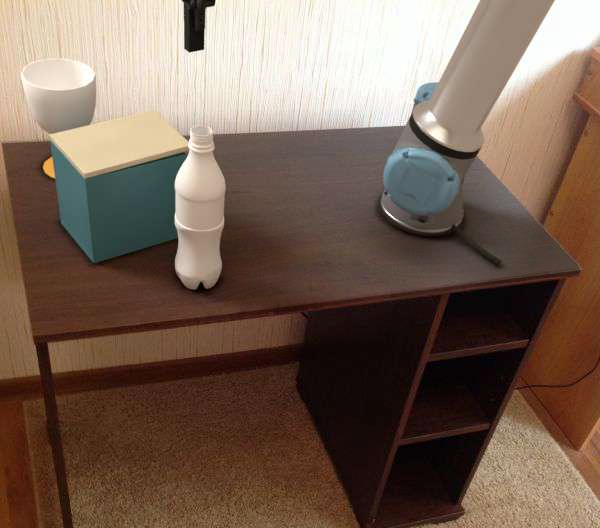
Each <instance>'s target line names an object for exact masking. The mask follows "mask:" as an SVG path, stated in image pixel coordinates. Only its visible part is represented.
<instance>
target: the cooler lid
mask: <svg viewBox="0 0 600 528" xmlns="http://www.w3.org/2000/svg"><path fill="white" fill-rule="evenodd" d="M48 136H49V141H50V140H51V141H52V142H53V143H54V144H55V146H56V147H57V148H58V149H59V150H60V151H61V152H62V153H63V155H64V156H65V157H66V158H67V159H68V160H69V161H70V162H71V163H72V165H73V166H74V167H75V168H76V169H77V170H78V171H79V172H80V174H81V175H82V176H83V177H84V178H85V179H86V178H90V177H94V176H97V175H101V174H105V173H108V172H112V171H116V170H119V169H123V168H127V167H130V166H134V165H138V164H141V163H145V162H149V161H152V160H156V159H160V158H163V157H167V156H171V155H174V154H178V153H182V152H185V153H186V152H189V150H190V149H189V148H188V143H189V140H187V138H185V137H184V136H183V135H182V134H181V133H180V132H179V131H178V130H176V129H175V128H174V126H172V125H171V124H170V123H169V122H168V121H167V120H166V119H164V117H162V116H161V115H160V114H159V113H158V112H157V111H156V110H155V109H149V110H146V111H142V112H138V113H134V114H129V115H125V116H121V117H118V118H117V117H116V118H113V119H109V120H104V121H100V122H96V123H92V124H91V123H90V125H87V126H83V127H79V128H75V129H71V130H66V131H62V132H58V133H54V134H49V135H48Z"/></svg>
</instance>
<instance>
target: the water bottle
mask: <svg viewBox="0 0 600 528" xmlns="http://www.w3.org/2000/svg"><path fill="white" fill-rule="evenodd" d="M189 134H190V135H189V136H190V138H189V139H188V142H189V143H188V148H189V149H190V150H189V151H188V154H187V158H186V160H185V161H184V163H183V164H182V166H181V168H180V170H179V171H178V174H177V176H176V179H175V192H176V213H175V226H176V228H177V232H178V238H177V239H178V243H177V250H176V253H175V258H174V269H175V274H176V275H177V277H178V279H180V282H181V283H182V284H183V286H184V287H185V288H187V289H189V290H197V289H198V287H199V285H200V283H202V285H203V288H205V289H206V290H209V289H211V288H212V287H214V286H215V285H216V284H217V282H218V280H219V278H220V276H221V273H222V268H223V260H222V258H221V249H220V247H221V246H220V245H221V237H222V233H223V230H224V226H225V216H224V215H225V197H226V196H225V195H226V191H227V185H226V179H225V177H224V174H223V172H222V170H221V168H220V166H219V164H218V162H217V161H216V158H215V156H214V150H215V148H216V146H215V144H214V130H213V129H212V127H210V126H207V125H204V124H197V125H194V126H192V127H191V128H190V130H189Z"/></svg>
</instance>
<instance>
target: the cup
mask: <svg viewBox="0 0 600 528" xmlns="http://www.w3.org/2000/svg"><path fill="white" fill-rule="evenodd" d="M20 78H21V83H22V88H23V91H24V95H25V99H26V103H27V106H28V109H29V111H30V113H31V115H32V117H33V120H34V121H35V123H36V124H37V125H38V126H39V127H40V129H42V130H43V131H44V132H46V133H47V134H49V135H50V134H54V133H58V132H62V131H66V130H71V129H75V128H79V127H83V126H87V125H91V123H92V122H93V119H94V115H95V111H96V107H97V75H96V73H95V70H94V69H93V67H91V66H89V65H88V64H86V63H85V62H82V61H78V60H75V59H70V58H62V57H61V58H60V57H52V58H43V59H39V60H34V61H31V62H30V63H28V64H27V65H25V66H24V67H23V69H22V70H21V73H20ZM42 168H43V171H44V174H45V175H47V176H48V177H50V178H51V179H54V180H55V173H54V166H53V159H52V156H51V157H49V158H48V159H47V160H45V161H44V163H43V165H42Z"/></svg>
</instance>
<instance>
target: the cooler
mask: <svg viewBox="0 0 600 528" xmlns="http://www.w3.org/2000/svg"><path fill="white" fill-rule="evenodd" d="M49 143H50V151H51V157H52V159H53V166H54V173H55V179H54V180H55V188H56V194H57V202H58V210H59V217H60V224H61V225H62V226H63V228H64V229H65V230H66V231H67V233H68V234H69V235H70V236H71V237H72V239H73V240H74V241H75V242H76V244H77V245H78V246H79V247H80V249H81V250H82V252H84V253H85V254H86V256H87V257H88V259H90V261H91V262H92V263H93V264H98V263H100V262H103V261H106V260H110V259H114V258H116V257H119V256H123V255H126V254H129V253H133V252H137V251H139V250H143V249H146V248H149V247H153V246H157V245H159V244H163V243H166V242H170V241H173V240H175V239H178V232H177V228H176V226H175V213H176V192H175V179H176V176H177V174H178V171H179V170H180V168H181V166H182V164H183V163H184V161H185V160H186V158H187V157H188V154H187V153H186V151H185V152H182V153H178V154H174V155H171V156H167V157H163V158H160V159H156V160H152V161H149V162H145V163H141V164H138V165H134V166H130V167H127V168H123V169H119V170H116V171H112V172H108V173H105V174H101V175H97V176H94V177H90V178H86V179H85V178H84V177H83V176H82V175H81V174H80V172H79V171H78V170H77V169H76V168H75V167H74V166H73V165H72V163H71V162H70V161H69V160H68V159H67V158H66V157H65V156H64V155H63V153H62V152H61V151H60V150H59V149H58V148H57V147H56V146H55V144H54V143H53V142H52V141H51V140H50V139H49Z"/></svg>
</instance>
